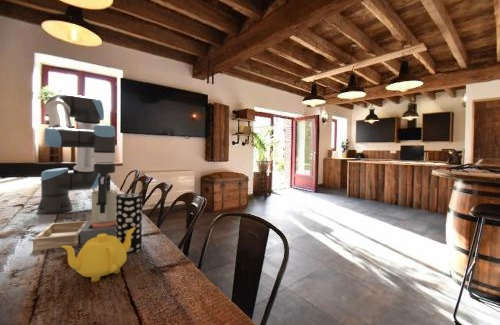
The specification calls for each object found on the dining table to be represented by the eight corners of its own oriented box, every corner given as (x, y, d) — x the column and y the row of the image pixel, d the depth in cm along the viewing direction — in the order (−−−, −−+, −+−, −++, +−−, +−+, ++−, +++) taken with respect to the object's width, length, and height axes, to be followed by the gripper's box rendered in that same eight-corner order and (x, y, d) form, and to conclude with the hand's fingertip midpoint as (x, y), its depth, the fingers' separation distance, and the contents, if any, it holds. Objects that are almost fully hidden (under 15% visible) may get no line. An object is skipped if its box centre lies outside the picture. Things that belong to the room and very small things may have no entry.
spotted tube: (146, 247, 89) (147, 194, 87) (128, 256, 81) (129, 198, 80) (129, 243, 91) (129, 192, 90) (110, 252, 83) (110, 196, 82)
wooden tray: (51, 232, 99) (51, 223, 99) (88, 229, 104) (88, 220, 104) (33, 250, 83) (32, 239, 82) (78, 245, 88) (77, 234, 88)
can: (105, 224, 93) (105, 193, 92) (85, 221, 94) (85, 192, 94) (122, 217, 102) (122, 189, 101) (104, 215, 103) (104, 188, 103)
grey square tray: (88, 231, 102) (88, 220, 101) (124, 228, 108) (124, 217, 107) (80, 244, 89) (80, 231, 89) (122, 239, 95) (122, 227, 95)
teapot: (72, 300, 57) (72, 254, 57) (52, 278, 66) (52, 238, 65) (149, 268, 74) (149, 232, 73) (125, 254, 82) (125, 222, 82)
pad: (93, 223, 100) (93, 218, 100) (118, 221, 104) (118, 216, 104) (89, 230, 92) (89, 224, 92) (115, 228, 96) (115, 222, 96)
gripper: (98, 161, 105) (98, 211, 106) (88, 165, 85) (88, 226, 86) (117, 161, 108) (117, 210, 109) (111, 165, 88) (111, 224, 90)
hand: (104, 217), depth 98 cm, fingers closed on can, 9 cm apart
